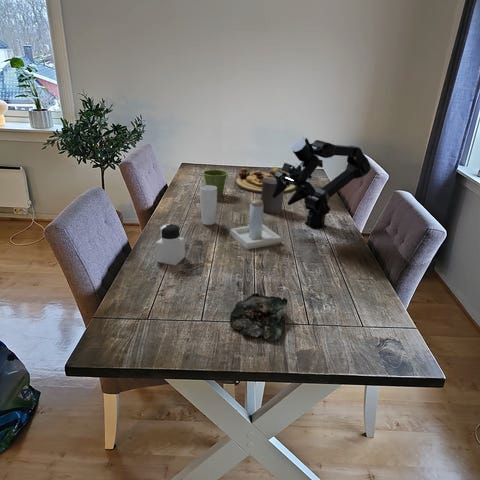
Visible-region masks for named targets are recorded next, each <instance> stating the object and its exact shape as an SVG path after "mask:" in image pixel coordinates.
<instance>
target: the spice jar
mask: <svg viewBox="0 0 480 480" xmlns="http://www.w3.org/2000/svg"><path fill="white" fill-rule="evenodd" d="M263 206H264V204H263V201H262V200H261V199H257V198H256V199H255V198H254V199H252V200H251V201H250V204H249V224H248V226H249V238H250V239H252V240H259V239H261V238H262V224H263V222H264V221H263V218H264V217H263V216H264V212H263Z"/></svg>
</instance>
